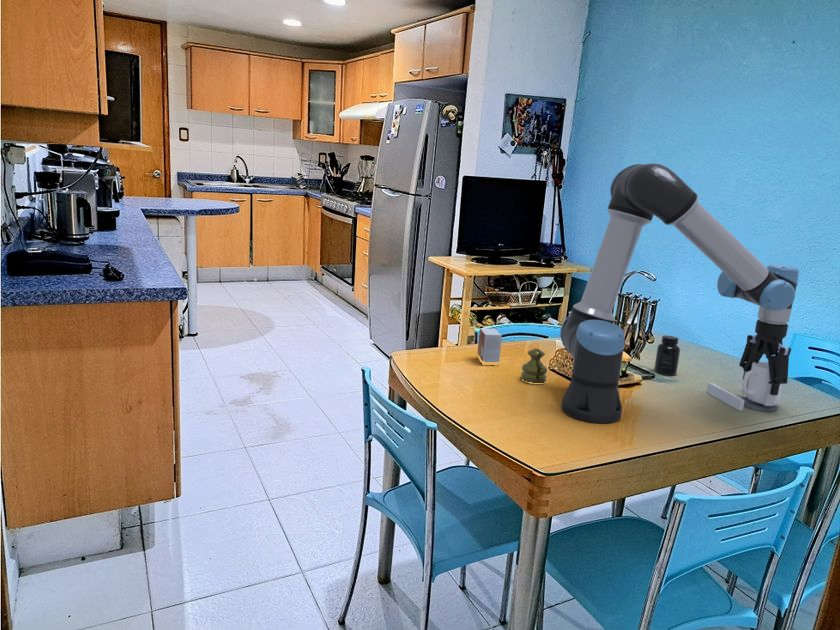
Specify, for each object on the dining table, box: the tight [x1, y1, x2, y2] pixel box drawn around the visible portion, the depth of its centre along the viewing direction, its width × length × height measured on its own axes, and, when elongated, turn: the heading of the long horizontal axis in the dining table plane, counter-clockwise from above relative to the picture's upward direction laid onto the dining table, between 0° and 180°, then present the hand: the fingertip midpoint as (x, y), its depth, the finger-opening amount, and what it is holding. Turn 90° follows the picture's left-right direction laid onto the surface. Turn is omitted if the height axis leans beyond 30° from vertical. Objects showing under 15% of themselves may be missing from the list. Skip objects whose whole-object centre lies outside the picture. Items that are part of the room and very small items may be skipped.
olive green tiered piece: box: [520, 348, 548, 384], centre depth 174 cm, size 7×7×10 cm
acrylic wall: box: [706, 382, 745, 412], centre depth 167 cm, size 1×14×3 cm, turn 10°
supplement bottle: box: [653, 335, 681, 377], centre depth 189 cm, size 7×7×12 cm
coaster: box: [739, 396, 778, 413], centre depth 166 cm, size 10×10×1 cm
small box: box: [477, 327, 503, 363], centre depth 189 cm, size 8×6×10 cm
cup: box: [741, 360, 784, 406], centre depth 164 cm, size 8×12×10 cm
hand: (757, 399), depth 165 cm, fingers closed on cup, 8 cm apart
